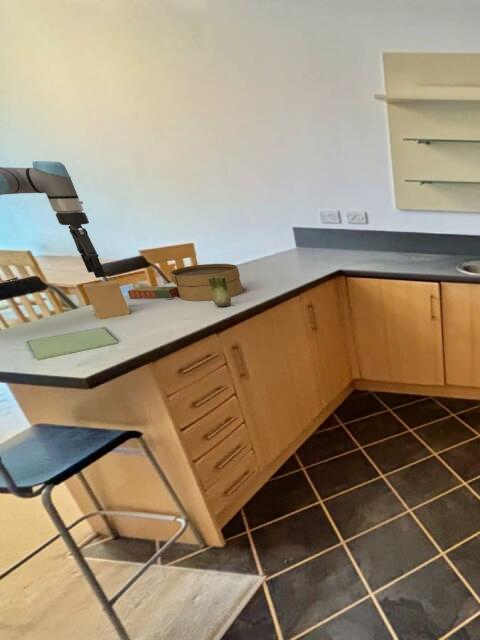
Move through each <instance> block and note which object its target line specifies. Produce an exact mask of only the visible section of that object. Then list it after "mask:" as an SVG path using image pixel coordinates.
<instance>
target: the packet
mask: <svg viewBox="0 0 480 640" xmlns="http://www.w3.org/2000/svg"><path fill="white" fill-rule="evenodd" d="M82 287H83V289H84V291H85V294H86V296H87V298H88V300H89V302H90V305H91V307H92V310H93V311H94V314H95V316H96V318H98V319H99V320H105V319H109V318H115V317H120V316H121V317H122V316H127V315H131V311H130V308H129V307H128V304H127V301H126V299H125V297H124V294H123V291H122V290H121V286H120V284H119V282H118V281H116V280H107V281H100V282H99V281H98V282H91V283H85V284H82Z"/></svg>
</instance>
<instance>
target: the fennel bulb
mask: <svg viewBox="0 0 480 640" xmlns="http://www.w3.org/2000/svg"><path fill="white" fill-rule="evenodd" d="M221 279H222V283H221V280H220V277H217V278H216V280H217V282H216V280H215V277H212V278H208V281H209V283H210V286H211V290H212V297H213V300H212V301H213V303H214V305H215V306H217V307H229V306H230V305H231V303H232V297H230V293H229V290H228V287H227V284H226V280H225V278H221ZM212 280H213V281H212ZM217 283H218V285H217ZM222 284H223V286H222ZM218 286H219V287H218Z"/></svg>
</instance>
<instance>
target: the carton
mask: <svg viewBox="0 0 480 640" xmlns="http://www.w3.org/2000/svg"><path fill="white" fill-rule="evenodd" d="M127 294H128V296H129V299H130V300H137V299H138V300H141V299H142V300H143V299H144V300H145V299H146V300H147V299H150V300H151V299H165V300H166V301H171V300H174V299H175V297H177V298H178V297H179V298H180V295H179V292H178V289H177V286H138V287H135V288H132V289H129V290H127Z"/></svg>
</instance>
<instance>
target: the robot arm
mask: <svg viewBox="0 0 480 640" xmlns="http://www.w3.org/2000/svg"><path fill="white" fill-rule="evenodd" d="M31 164H32V167H7V166H5V167H3V166H0V196H2V195H17V194H45V195H46V197H47V200H48V202H49V204H50V207H51V208H52V211H53V212H56V213H55V217H56V219H57V221H58V224H59V225H61V226H68V229H69V234H70V235H71V237H72V239H73V241H74V244H75V247H76V250H77V251H78V253H79V255H80V257H81V260H82V262H83V264H84V266H85V268H86V271H87V273H93V275H94V277H95V278H96V279H99V278H107V275H106V273H105V271H104V268H103V266H102V263H101V261H100V259H99V254H98V252H97V250H96V248H95V247H94V244H93V243H92V240H91V238H90V236H89V233H88V231H87V229H86V228H85V227H83V226H82V225H88V224H90V220H89V218H88V216H87V214H86V212H83V211H84V210H85V209H84V207H83V205H84V202H83V201H82V200H80V198H79V195H78V193H77V190H76V187H75V185H74V183H73V180H72V177H71V175H70V173H69V172H68V169H67V167H66V165H65V164H63V163H62V162H60V161H47V160H43V161H42V160H34V161H32V163H31ZM18 279H19V277H18V276H15V277H13V278H10V279H7V280H5V281H9V282H11V281H10V280H12V281H14V280H18Z"/></svg>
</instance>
